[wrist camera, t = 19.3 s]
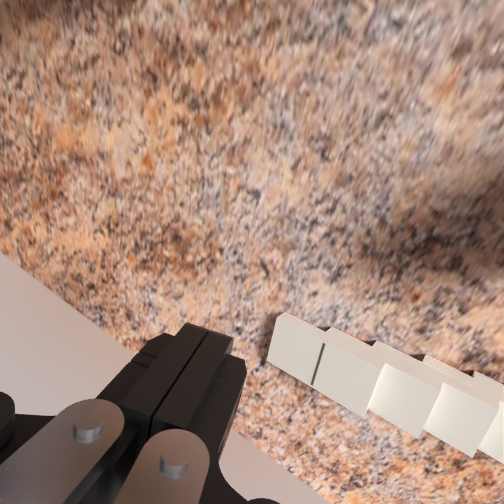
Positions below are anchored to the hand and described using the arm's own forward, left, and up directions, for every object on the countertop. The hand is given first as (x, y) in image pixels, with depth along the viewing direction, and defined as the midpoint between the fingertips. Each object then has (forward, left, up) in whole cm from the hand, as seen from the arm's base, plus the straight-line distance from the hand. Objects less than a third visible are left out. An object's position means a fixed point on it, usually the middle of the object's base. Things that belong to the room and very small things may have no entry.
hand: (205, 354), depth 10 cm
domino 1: (+1, -12, -21) cm, 24 cm away
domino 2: (+6, -12, -21) cm, 25 cm away
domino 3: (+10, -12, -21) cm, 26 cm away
